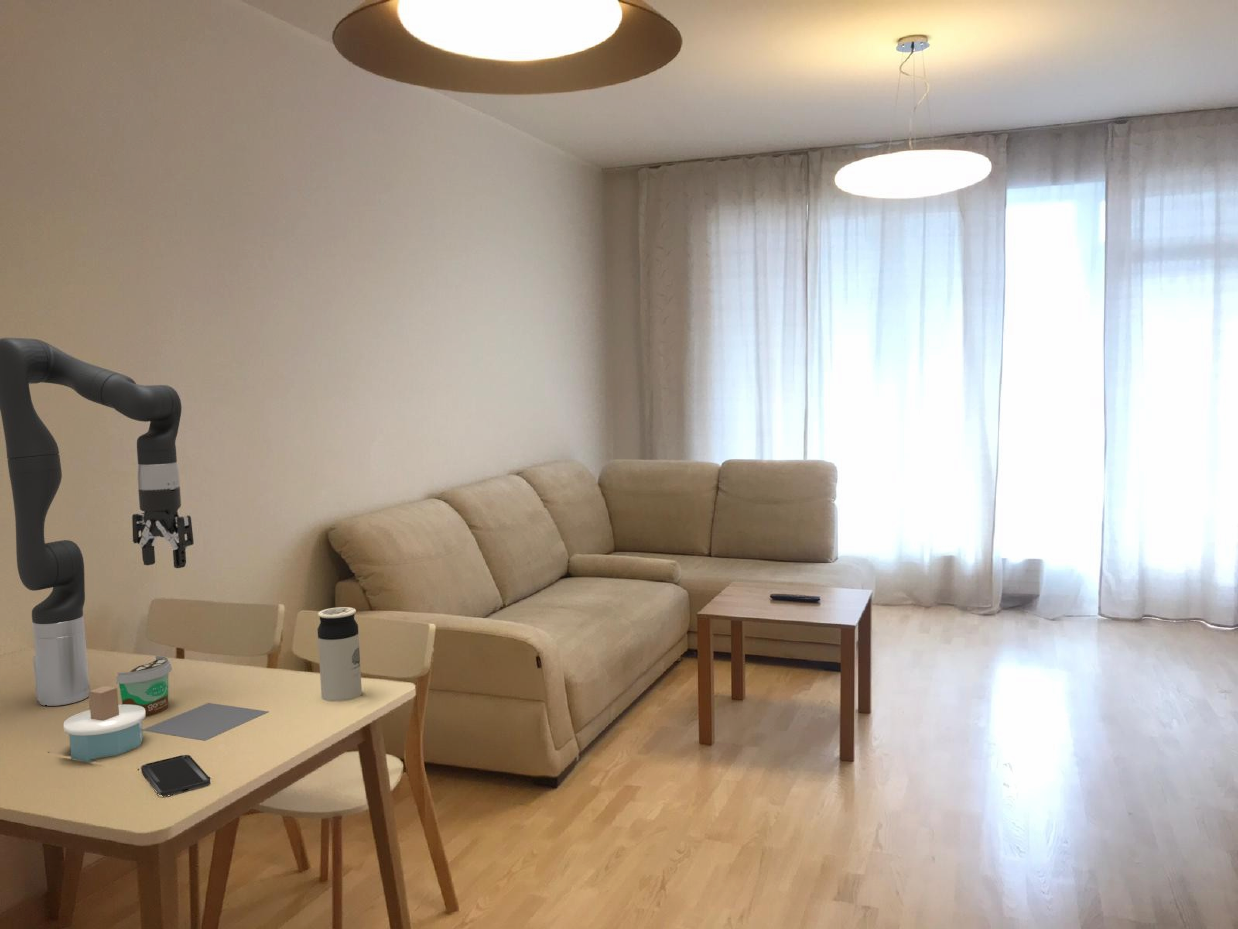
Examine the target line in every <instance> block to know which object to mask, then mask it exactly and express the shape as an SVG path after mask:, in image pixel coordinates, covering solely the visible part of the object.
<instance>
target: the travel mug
mask: <svg viewBox="0 0 1238 929" xmlns="http://www.w3.org/2000/svg"><path fill="white" fill-rule="evenodd" d="M356 612H357V610H356V608H354V607H349V606H346V607H345V606H342V607H341V606H339V607H338V606H337V607H331V608H325V609H322V610H319V611H318V613H317V616H318V617H319V620H320V623H319V625H318V627H317V641H318V643H317V644H318V659H319V660H318V661H319V662H318V663H319V678H320V680H319V681H320V694H321V699H322V700H323V701H326V702H343V701H349V700H354V699H356V698H358V697H361V696H362V694H363V690H362V672H361V654H360V653H361V652H360V637H359V635H360V634H359V624H358V623H357V620H356V619H355V616H356Z"/></svg>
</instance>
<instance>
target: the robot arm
mask: <svg viewBox="0 0 1238 929" xmlns="http://www.w3.org/2000/svg"><path fill="white" fill-rule="evenodd" d="M39 383H45V384H53V385H59V386H64V387H68V388H70V389H71V390H73V391H74V392H75V393H77V394H78V395H79V396H81V397H82V398H84V399H86V400H88V401H91V402H93V403H96V404H99V405H102V406H105V407H108V408H111V409H114V410H115V411H116V412H118V413H120V414H121V415H123V416H124V417H126V418H129V419H131V420H133V421H138V422H143V423H145V422H150V423H149V427H148V431H147V432H145V433H144V434H141V435H139V436H138V437H137V440H136V456H137V457H136V458H137V489H138V491H137V492H138V504H139V509H140V511H142V512H140V513H133V514H132V517H131V519H132V520H131V521H132V522H131V523H132V524H131V525H132V542H133V544H138V545H139V547H140V548H141V555H142V562H143V565H144V566H152V565H155V563H156V554H155V545H154V543H155V542H156V539H158V538H165V540H166V541H167V542H168V543H170V545H171V546H172V548H173V550H172V558H173V559H172V560H173V568H174V569H181V568H185V567H186V565H187V555H186V549H187V547H189V546H194V541H195V540H194V535H193V534H194V532H193V525H192V524H193V522H192V517H191V515H189V514H188V515H183V516H179V512H178V510H179V509H180V508H181V507H182V496H181V483H180V471H179V467H178V459H177V445H176V442H177V441H176V440H177V436H178V433H179V428H180V422H181V416H182V408H183V407H182V401H181V398H180V395H179V394H178V392H177V391H176V390H175V389H174V388H173V387H172V386H170V385H165V384H159V385H158V384H157V385H156V384H155V385H152V384H151V385H143V384H137V383H136V381H135V380H134V379H133V378H131V377H130V376H127V375H125V374H123V373H119V372H116V371H113V370H110V369H107V368H103V367H100V366H98V365H95V364H91V363H88V362H85V361H83V360H80V359H79V358H76V357H73V356H72V355H70V354H68V353H66V352H65V351H63V350H60V349H59V348H57V347H55V346H53V345H52V344H50V343H49V342H45V341H43V340H41V339H36V338H21V337H19V338H18V337H2V338H0V416H1V421H2V427H3V428H2V429H3V434H4V440H5V448H6V450H5V451H6V459H7V460H6V461H7V466H8V474H9V475H8V476H9V481H10V486H11V493H12V501H13V508H14V519H15V520H14V521H15V541H16V542H15V548H16V549H15V550H16V552H15V553H16V566H17V572H18V576H19V579H20V581H21V583H22V584H23V586H24V587H25V588H26V589H28V590H30V591H36V592H37V591H42V590H47V589H52V591H51V592H50V593H49V595H48V596H47V597H46V598H45V599H44V600H42V601H41V602H39V603H37V605H35V606H34V607H33V608H32V609H31V624H32V632H33V633H32V634H33V642H34V644H33V645H34V653H35V654H34V656H33V657H32V662H33V664H32V665H33V673H34V685H35V692H36V693H35V695H36V701H37V702H39V704H40V705H42V706H45V705H47V706H46V707H54V706H56V707H57V706H65V705H69V704H70V705H71V704H74V703H77V702H80V701H83V700H85V699H87V698H89V691H90V681H89V668H88V657H87V656H88V655H87V644H86V633H85V621H84V620H85V618H84V606H85V601H86V590H85V589H86V586H85V584H86V583H85V561H84V556H83V554H82V551H81V549H80V547H79V546H78V544H77V543H76V542H74V541H72V540H68V539H63V540H56V541H51V542H50V541H49V542H46V539H45V524H46V523H45V522H46V518H47V514H48V511H49V509H50V508H51V504H52V503H53V501H54V498H55V497H56V494H57V492H58V490H59V488H60V486H61V482H62V479H63V477H62V476H63V474H62V472H63V471H62V465H61V456H60V450H59V446H58V442H57V440H56V439H55V437H54V436H53V434H52V433H51V431H50V430H49V428H48V427H47V425H45V423H44V422H43V421H42V418H40V416H39V414H38V413H37V410H36V409H35V406H34V404H33V401H32V395H31V391H30V390H31V389H30V384H33V385H34V384H39ZM139 533H140V535H139Z"/></svg>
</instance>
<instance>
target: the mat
mask: <svg viewBox="0 0 1238 929" xmlns="http://www.w3.org/2000/svg"><path fill="white" fill-rule="evenodd" d="M268 713H270V711H268V710H261V709H255V708H247V707H242V706H241V707H240V706H233V705H227V704H220V703H212V702H206V703H204V704H203V705H200V706H197V707H194V708H192V709H190V710H187V711H185V712H182V713H180V714H177V715H175V716H172V717H170V718H167V719H165V720H163V721H161V722H157V723H155V724H152V725H150V726H147V727H146V728H142V732H151V733H155V734H160V735H161V734H162V735H167V736H173V737H179V738H180V737H181V738H186V739H192V740H198V741H203V742H205V741H208V740H210V739H212V738H215V737H218V735H221V734H223V733H225V732H228V731H230V730H232V729H235V728H237V727H239V726H240V725H243V724H245V723H248V722H250V721H252V720H255V719H258V717H262V716H264V715H266V714H268Z"/></svg>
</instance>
